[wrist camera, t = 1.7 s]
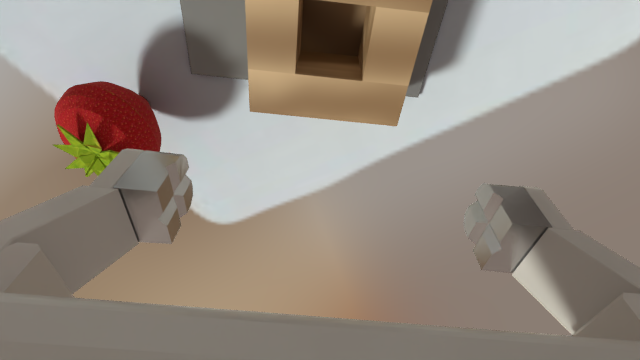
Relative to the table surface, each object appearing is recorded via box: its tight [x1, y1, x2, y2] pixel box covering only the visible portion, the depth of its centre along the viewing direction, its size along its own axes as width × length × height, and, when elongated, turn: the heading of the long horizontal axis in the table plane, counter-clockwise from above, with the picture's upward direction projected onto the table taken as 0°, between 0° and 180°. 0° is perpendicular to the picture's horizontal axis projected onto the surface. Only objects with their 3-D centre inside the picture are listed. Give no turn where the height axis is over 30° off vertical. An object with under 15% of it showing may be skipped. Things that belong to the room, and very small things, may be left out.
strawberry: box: [54, 82, 161, 177], centre depth 24 cm, size 6×8×10 cm
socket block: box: [245, 0, 433, 126], centre depth 21 cm, size 10×10×5 cm
